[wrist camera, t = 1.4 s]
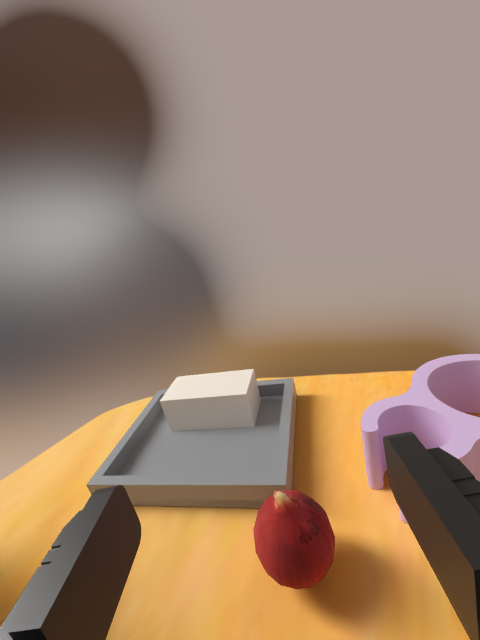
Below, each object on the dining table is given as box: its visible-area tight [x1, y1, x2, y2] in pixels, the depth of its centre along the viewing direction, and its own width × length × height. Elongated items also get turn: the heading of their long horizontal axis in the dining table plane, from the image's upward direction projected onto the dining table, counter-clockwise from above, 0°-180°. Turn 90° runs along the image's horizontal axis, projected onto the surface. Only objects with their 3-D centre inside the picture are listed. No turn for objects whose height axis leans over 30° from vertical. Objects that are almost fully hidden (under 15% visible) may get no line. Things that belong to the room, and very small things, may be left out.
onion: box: [254, 490, 335, 589], centre depth 23 cm, size 6×6×8 cm
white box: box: [160, 369, 261, 431], centre depth 43 cm, size 12×6×5 cm, turn 79°
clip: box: [361, 354, 480, 524], centre depth 29 cm, size 20×12×7 cm, turn 110°
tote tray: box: [87, 378, 297, 508], centre depth 39 cm, size 22×18×3 cm
